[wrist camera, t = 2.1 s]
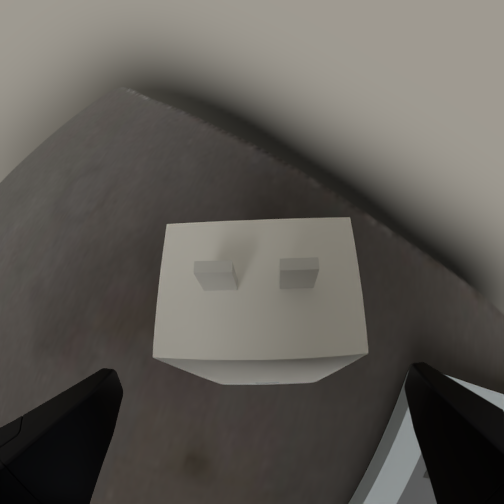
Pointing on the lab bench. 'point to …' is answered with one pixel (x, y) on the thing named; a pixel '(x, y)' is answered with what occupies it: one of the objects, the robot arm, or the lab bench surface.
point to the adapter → (260, 300)
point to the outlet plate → (404, 459)
